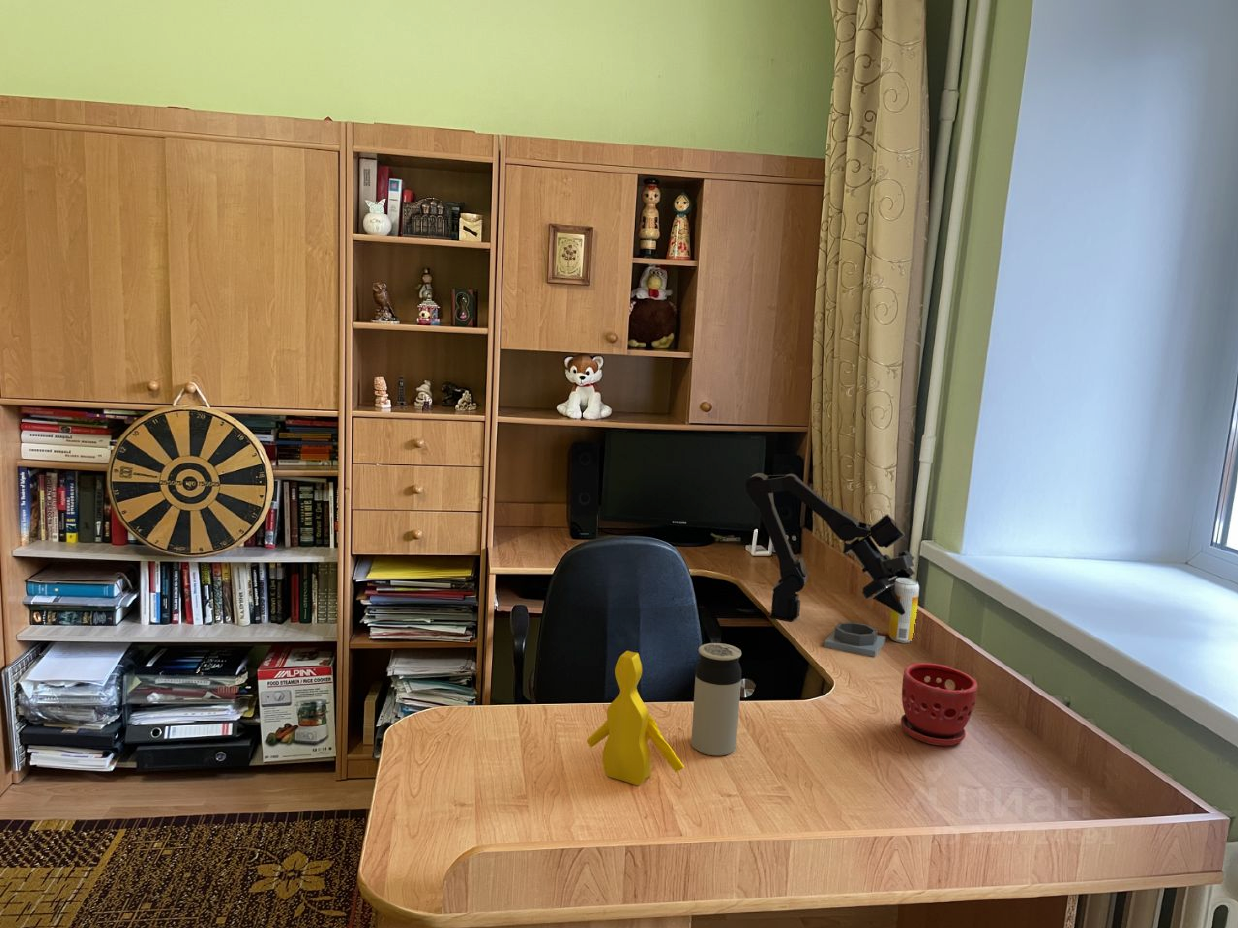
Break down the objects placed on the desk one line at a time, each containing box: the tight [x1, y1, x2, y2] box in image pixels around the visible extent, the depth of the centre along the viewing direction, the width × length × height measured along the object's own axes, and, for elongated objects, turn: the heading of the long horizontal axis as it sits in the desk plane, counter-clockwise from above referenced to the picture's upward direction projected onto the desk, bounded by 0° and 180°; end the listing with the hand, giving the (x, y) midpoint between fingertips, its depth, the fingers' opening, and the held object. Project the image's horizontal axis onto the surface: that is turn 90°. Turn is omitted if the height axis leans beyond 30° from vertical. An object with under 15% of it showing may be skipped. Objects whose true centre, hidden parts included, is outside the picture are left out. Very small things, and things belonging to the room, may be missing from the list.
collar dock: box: [823, 621, 886, 658], centre depth 213 cm, size 12×12×4 cm
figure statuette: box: [586, 650, 685, 787], centre depth 143 cm, size 18×8×22 cm, turn 63°
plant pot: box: [900, 662, 979, 747], centre depth 165 cm, size 13×13×12 cm
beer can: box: [888, 578, 920, 644], centre depth 218 cm, size 6×6×15 cm
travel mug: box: [690, 642, 742, 757], centre depth 155 cm, size 8×8×18 cm
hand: (909, 611), depth 217 cm, fingers closed on beer can, 6 cm apart
